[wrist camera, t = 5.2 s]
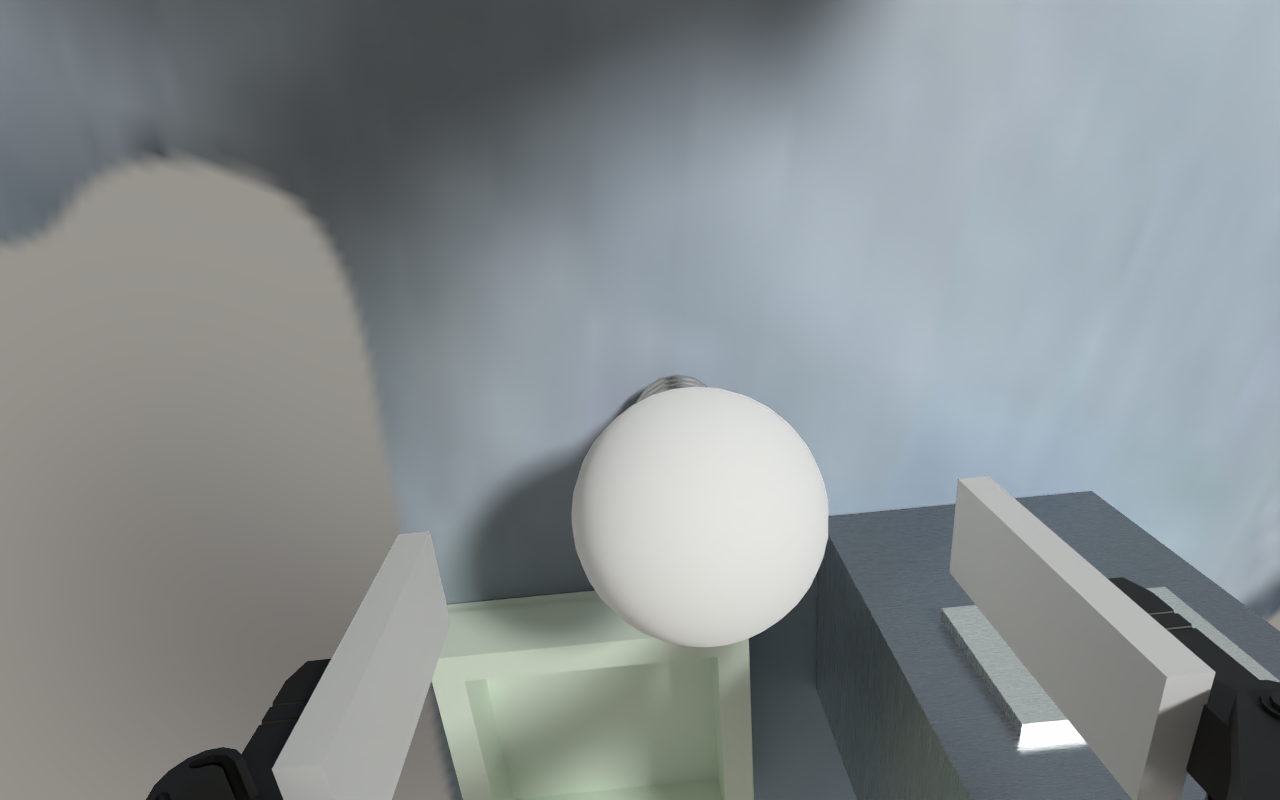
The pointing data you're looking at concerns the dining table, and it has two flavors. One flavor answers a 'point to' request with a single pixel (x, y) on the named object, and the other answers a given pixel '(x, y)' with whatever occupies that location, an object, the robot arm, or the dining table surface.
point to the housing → (980, 657)
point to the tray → (589, 706)
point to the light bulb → (699, 515)
